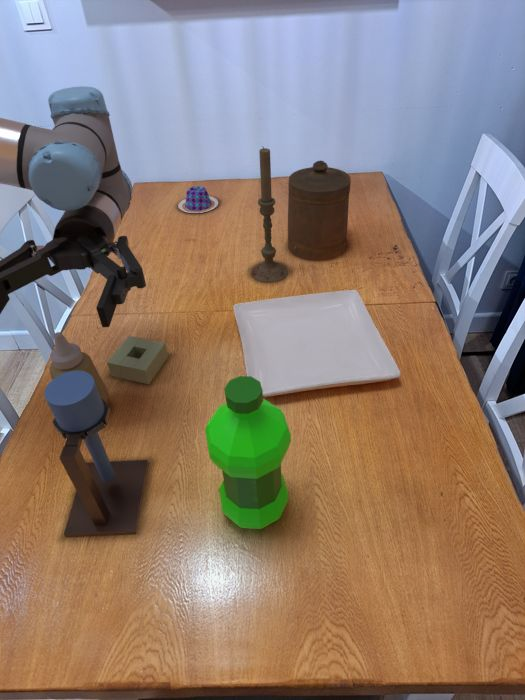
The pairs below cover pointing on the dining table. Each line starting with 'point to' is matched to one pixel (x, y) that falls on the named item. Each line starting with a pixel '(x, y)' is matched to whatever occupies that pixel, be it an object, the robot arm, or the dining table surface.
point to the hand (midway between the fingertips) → (41, 320)
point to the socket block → (138, 359)
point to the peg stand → (101, 488)
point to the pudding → (197, 200)
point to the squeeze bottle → (73, 362)
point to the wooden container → (318, 212)
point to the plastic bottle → (249, 454)
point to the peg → (80, 412)
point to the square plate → (312, 343)
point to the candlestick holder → (267, 227)
